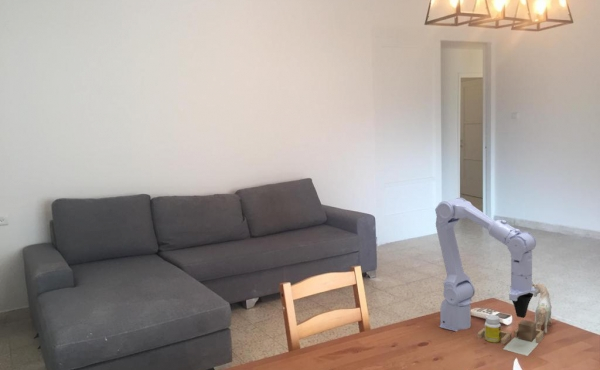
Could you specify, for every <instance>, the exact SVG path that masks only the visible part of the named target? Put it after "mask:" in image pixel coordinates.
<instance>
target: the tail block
mask: <svg viewBox="0 0 600 370" xmlns="http://www.w3.org/2000/svg"><path fill="white" fill-rule="evenodd" d="M517 327H518V339H521V340H525V341H529V342H532V341H533V340H534V339H535V338H536V322H535V321H531V320H527V319H522V320H520V321H519V323H518V326H517Z"/></svg>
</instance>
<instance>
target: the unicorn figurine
mask: <svg viewBox="0 0 600 370" xmlns="http://www.w3.org/2000/svg"><path fill="white" fill-rule="evenodd" d="M533 288H534V289H536V292H535V293H533V297H536V298H537V297H538V294H540V297H539V299H538V302H537V306H536V309H535V312H534V313H535V314H534V315H535V316H534V322H536V329H537V330H542V326H543V325H544V329H543V331H544V334H548V326H552V323H553V322H552V317H551V316H552V308H553V307H552V303H551V297H550V293H549V291H548V289H547V287H546V286H545V285H544V284H543V283H540V282H538V283H536V282H535V283H533Z"/></svg>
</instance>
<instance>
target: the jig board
mask: <svg viewBox="0 0 600 370" xmlns="http://www.w3.org/2000/svg"><path fill="white" fill-rule="evenodd" d="M513 334H514V335H513V336H514V337H513V338H512V333H511V332H507V331H504V330H501V341H500V344H501V345H505V346H504V347H503V348H502V350H504V351H508V352H512V353H515V354H519V355H523V356H527V357H528V356H529V355H530V354H531V352H532V351H534V349H535V348H536V347H538V345H539V343H541V341H542V340H543V339H544V338H545V333H544V330H542V329H541V330H537V329H536V338H535V339H534V340H533V341H532V342H529V341H525V340H521V339H518V328H516V329H515V330H514V333H513ZM476 336H477V339H482V338H483V337H485V326H484V327H483V328H481V330H479V331H478V332H477V335H476ZM506 343H507V344H506Z"/></svg>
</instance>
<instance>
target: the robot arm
mask: <svg viewBox="0 0 600 370" xmlns="http://www.w3.org/2000/svg"><path fill="white" fill-rule="evenodd" d="M434 210H435V215H436V219H435V228H436V232H437V235H438V240H439V241H438V242H439V245H440V250H441V254H442V259H443V262H444V267H445V272H446V277H445V279H444V281H443V297H444V299H443V300H442V302H441V303H440V309H439V312H440V313H439V314H440V317H439V318H440V325H439V328H442V329H446V330H449V331H453V332H458V331H459V330H467V329H469V328H471V327H472V326H471V325H472V324H471V323H472V321H471V320H472V319H471V317H472V316H471V303H472V298H473V297H474V296H475V293H476V290H475V286H474V284H473V283H472V281H471V278H470V276H469V275H468V274H466V273H465V272H464V266H463V264H462V263H463V262H462V259H461V255H460V251H459V250H460V249H459V247H458V242H457V238H456V233H455V230H454V229H455V228H454V227H455V225H456V224H457V222H458V221H460V220H461V219H468V220H470V221H471V222H474V223H475V224H477V225H480V226H481V227H483V228H485V229H487V230H488V234H489V236H491V237H492V238H494V239H495V240H497V241H498V242H500V243H502V244H504V246H506V247H507V249H508V251H509V252H510V258H511V260H510V264H511V265H510V287H509V289H510V290H509V294H508V295H509V296H508V297H509V299H508V300H509V301H512V303H513V306H514V310H515V314H516V317H517V318H521V319H524V318H525V317H526V315H527V313H528V308H529V304H530V302H531V300H532V298H533V297H534V295H533V293H535V292H536V289H534V286H533V284H534V283H533V282H534V281H533V250H534V249H535V248H536V245H537V240H536V238H535V237H534V235H533V234H531V233H530V231H521V230H520V229H519V228H515V227H513V226H511V225H510V224H509V223H508V221H506V220H505V219H502V220H501V219H497V220H494V219H493V218H492V217H490V216H488V215H487V214H485V213H484V212H483V211H481V210H480V209H479V208H477V207H475V206H474V205H473V204H472V203H471V201H469V200H466V199H465V198H463V197H456V198H454V199H449V200H442V201H440V202H439V203H438V205H437V206H436V208H435V209H434Z"/></svg>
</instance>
